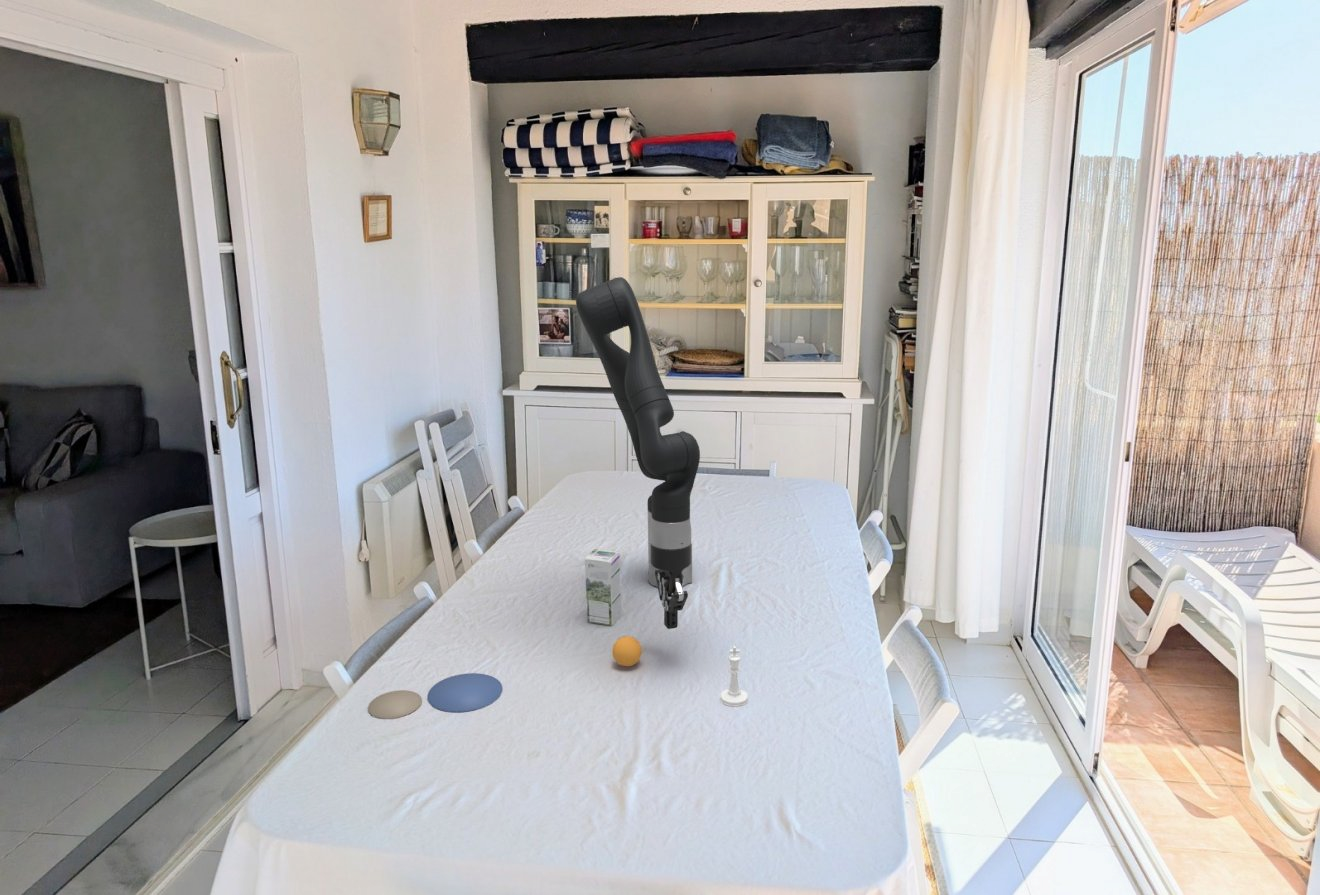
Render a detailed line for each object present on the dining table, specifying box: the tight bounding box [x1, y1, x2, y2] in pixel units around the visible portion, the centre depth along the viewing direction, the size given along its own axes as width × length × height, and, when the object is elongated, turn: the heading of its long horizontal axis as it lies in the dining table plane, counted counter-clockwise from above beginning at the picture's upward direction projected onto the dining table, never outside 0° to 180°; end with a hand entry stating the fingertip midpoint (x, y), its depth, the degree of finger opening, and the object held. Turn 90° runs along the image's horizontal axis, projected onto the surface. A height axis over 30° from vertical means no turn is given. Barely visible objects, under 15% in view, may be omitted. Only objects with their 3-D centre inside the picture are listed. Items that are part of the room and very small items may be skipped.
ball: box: [611, 635, 643, 667], centre depth 171 cm, size 6×6×6 cm
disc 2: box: [427, 672, 503, 713], centre depth 162 cm, size 13×13×1 cm
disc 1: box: [367, 689, 423, 720], centre depth 158 cm, size 9×9×1 cm
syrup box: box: [584, 548, 623, 627], centre depth 188 cm, size 6×6×14 cm
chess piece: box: [719, 645, 749, 708], centre depth 158 cm, size 5×5×10 cm
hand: (670, 626), depth 172 cm, fingers closed
